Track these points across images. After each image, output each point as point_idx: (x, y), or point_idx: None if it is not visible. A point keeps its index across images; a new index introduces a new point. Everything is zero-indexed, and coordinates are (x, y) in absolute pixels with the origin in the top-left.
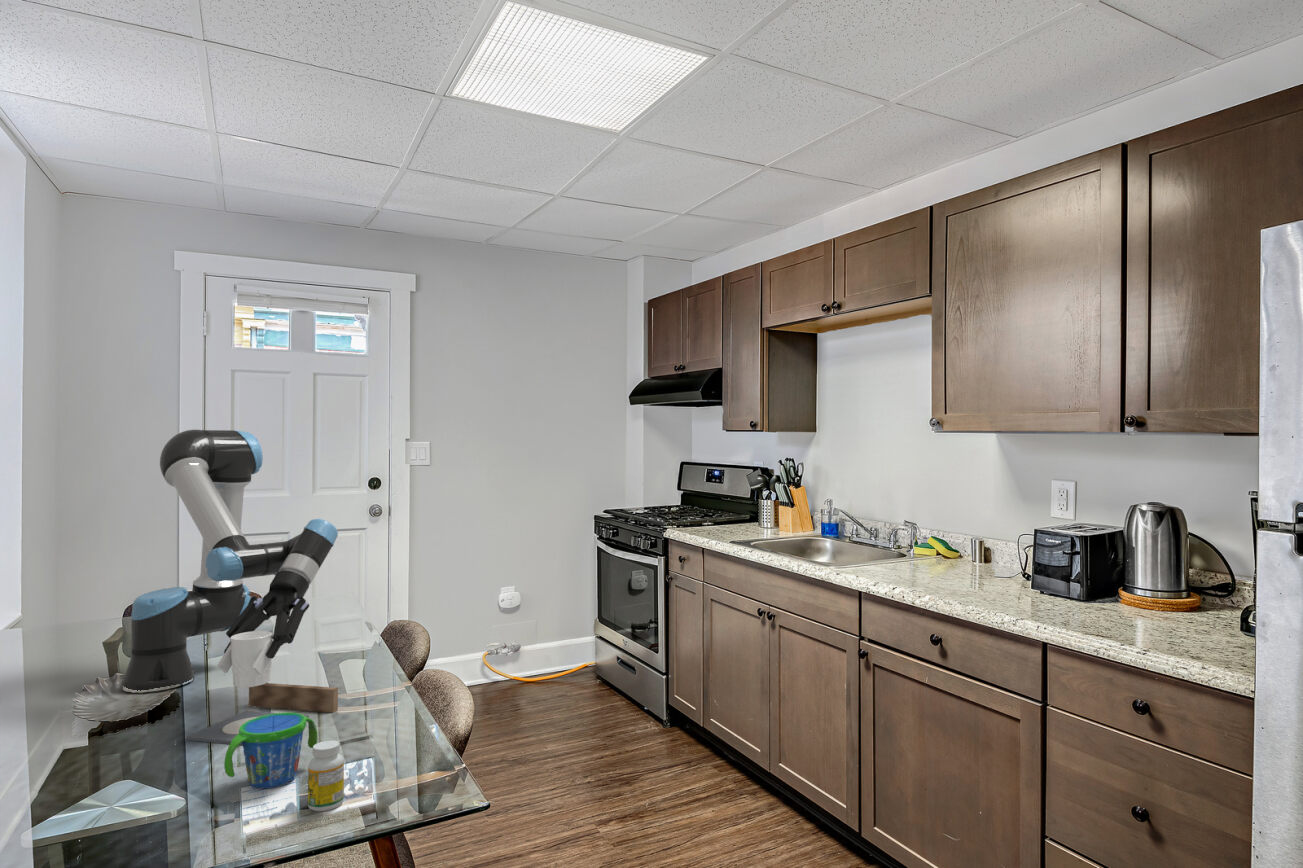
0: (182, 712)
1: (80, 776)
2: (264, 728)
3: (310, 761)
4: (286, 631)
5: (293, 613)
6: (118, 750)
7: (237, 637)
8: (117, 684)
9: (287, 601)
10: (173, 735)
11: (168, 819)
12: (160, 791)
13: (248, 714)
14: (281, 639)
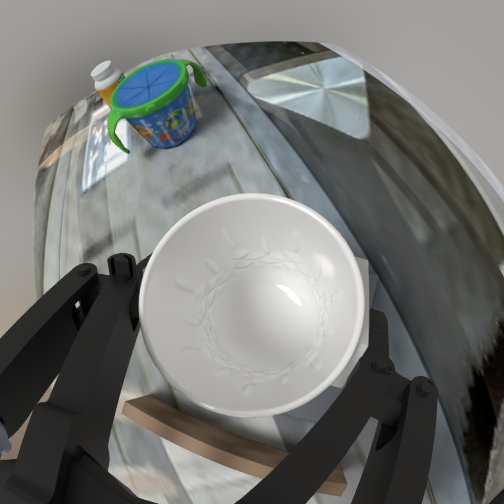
0: (450, 424)
1: (425, 156)
2: (157, 80)
3: (117, 70)
4: (71, 281)
5: (3, 352)
6: (451, 240)
7: (347, 336)
8: None
9: (3, 479)
10: (412, 304)
11: (247, 71)
12: (293, 108)
13: (314, 401)
14: (107, 276)
